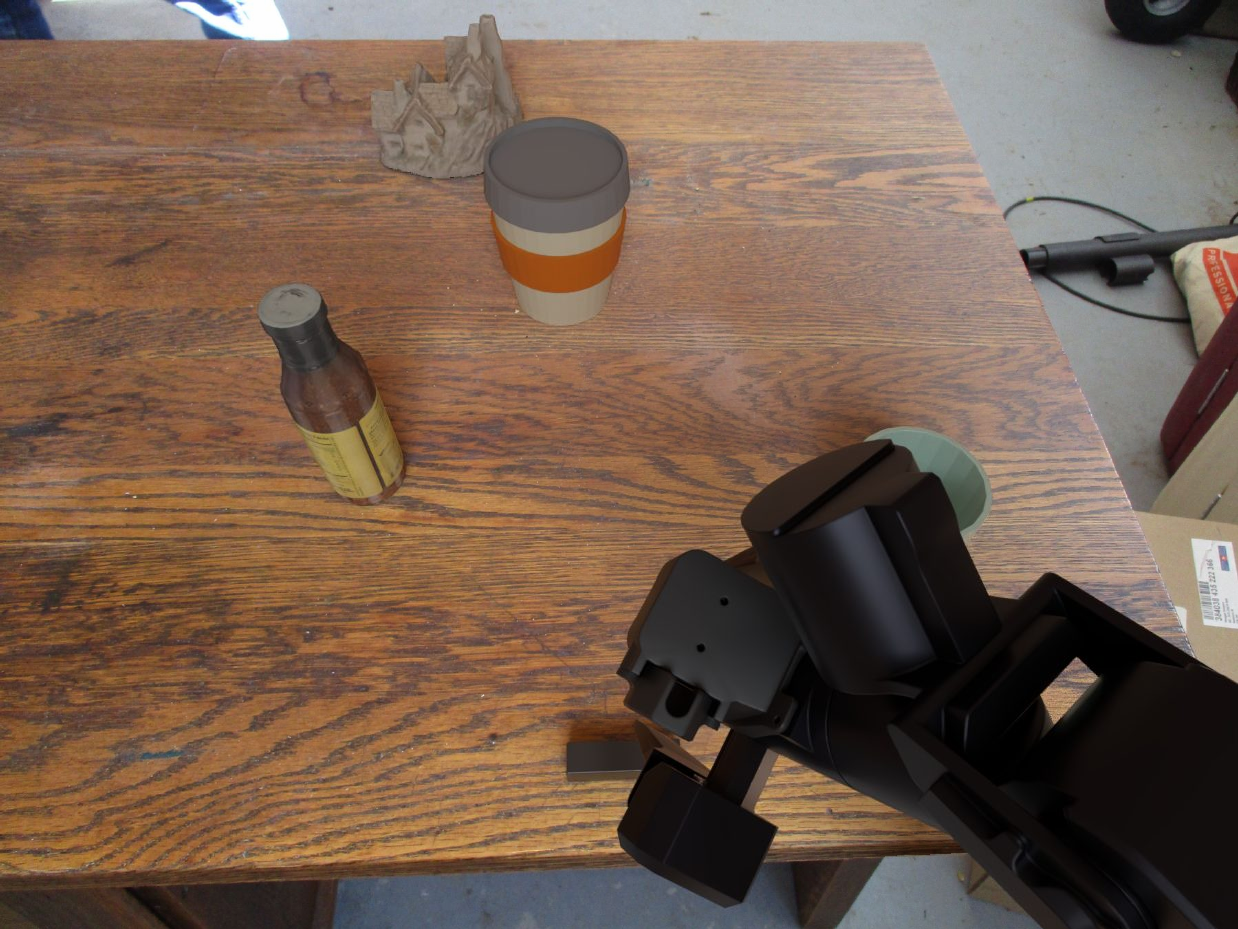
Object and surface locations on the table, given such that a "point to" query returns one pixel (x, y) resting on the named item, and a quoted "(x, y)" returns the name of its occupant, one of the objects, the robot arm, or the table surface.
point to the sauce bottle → (332, 397)
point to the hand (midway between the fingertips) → (680, 647)
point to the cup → (948, 472)
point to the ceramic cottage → (448, 108)
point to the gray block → (604, 760)
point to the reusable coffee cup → (558, 213)
